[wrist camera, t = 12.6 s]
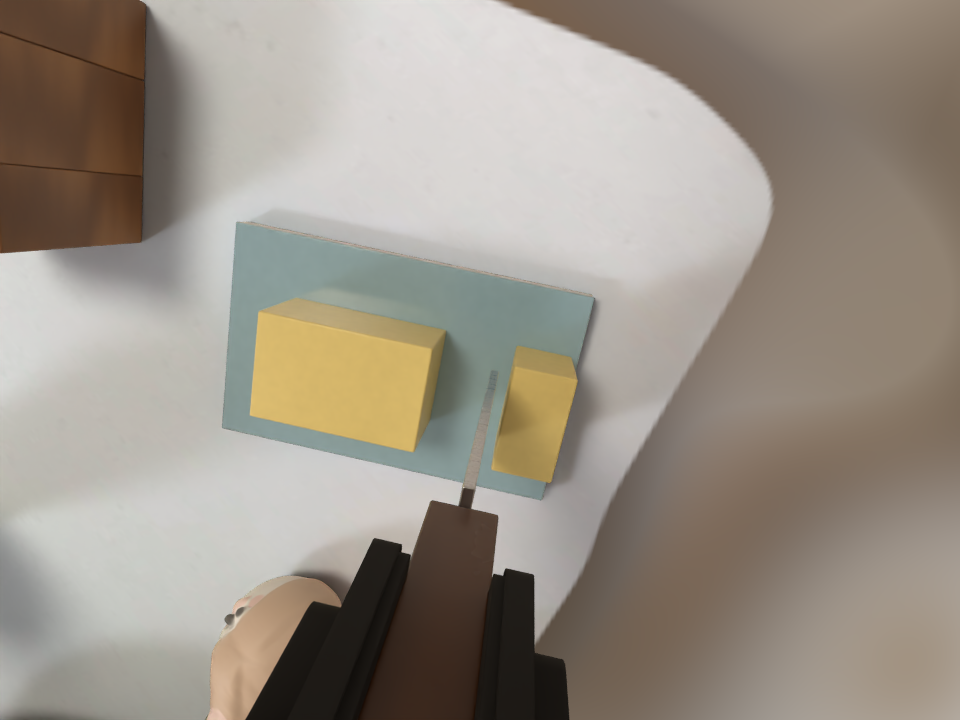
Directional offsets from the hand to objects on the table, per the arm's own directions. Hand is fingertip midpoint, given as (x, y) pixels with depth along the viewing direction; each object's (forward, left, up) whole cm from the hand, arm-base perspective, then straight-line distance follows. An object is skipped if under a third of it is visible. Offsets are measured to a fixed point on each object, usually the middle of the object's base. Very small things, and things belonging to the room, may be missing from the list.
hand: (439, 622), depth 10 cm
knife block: (-8, -21, -16) cm, 27 cm away
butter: (0, -6, -15) cm, 16 cm away
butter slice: (0, +2, -15) cm, 15 cm away
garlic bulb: (+15, -7, -16) cm, 23 cm away
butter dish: (0, -5, -16) cm, 17 cm away
